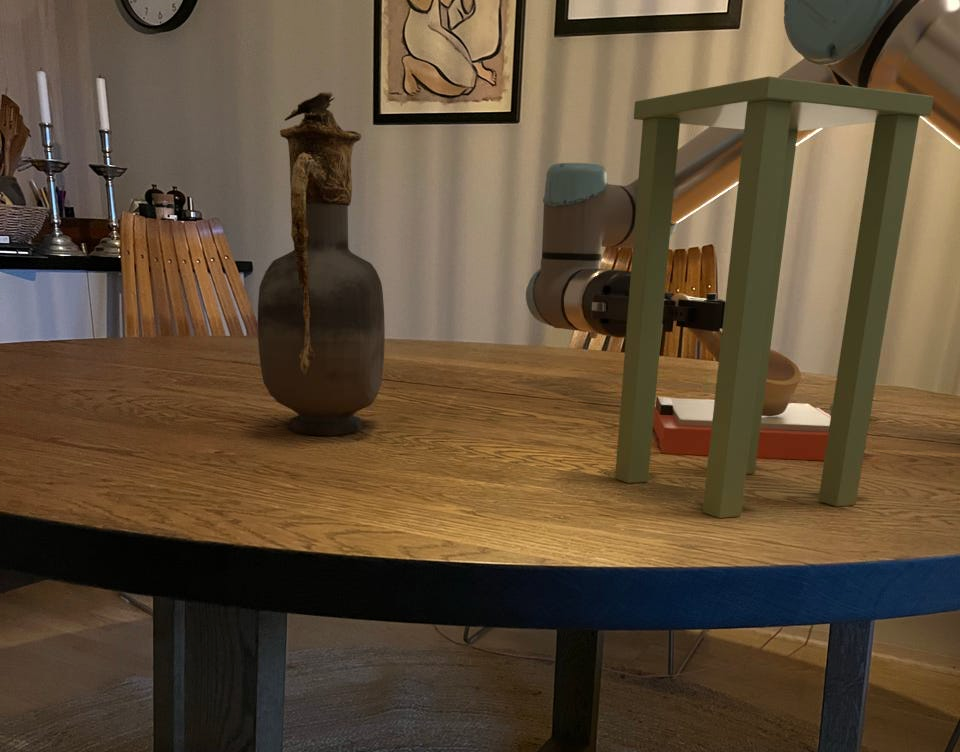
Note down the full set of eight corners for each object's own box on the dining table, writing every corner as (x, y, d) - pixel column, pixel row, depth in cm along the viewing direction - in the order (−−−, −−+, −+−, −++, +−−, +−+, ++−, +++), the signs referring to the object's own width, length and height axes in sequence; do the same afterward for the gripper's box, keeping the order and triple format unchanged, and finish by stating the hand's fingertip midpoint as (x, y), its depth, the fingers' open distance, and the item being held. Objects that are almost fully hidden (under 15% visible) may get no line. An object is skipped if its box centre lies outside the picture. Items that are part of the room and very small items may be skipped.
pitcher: (390, 419, 111) (389, 106, 100) (364, 452, 93) (360, 76, 82) (289, 415, 111) (278, 103, 100) (244, 448, 93) (224, 73, 82)
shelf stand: (865, 506, 79) (934, 95, 69) (717, 520, 73) (768, 75, 63) (741, 467, 92) (783, 116, 81) (606, 477, 86) (634, 101, 76)
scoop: (799, 414, 102) (815, 382, 99) (742, 418, 99) (757, 385, 97) (697, 308, 114) (709, 277, 112) (644, 308, 111) (655, 276, 109)
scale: (815, 430, 112) (820, 398, 111) (857, 462, 96) (863, 425, 94) (649, 422, 114) (652, 391, 112) (662, 453, 97) (665, 416, 96)
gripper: (660, 334, 128) (787, 354, 108) (549, 335, 122) (663, 356, 102) (665, 270, 126) (797, 279, 106) (553, 268, 119) (670, 276, 99)
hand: (731, 317), depth 104 cm, fingers open, 3 cm apart
